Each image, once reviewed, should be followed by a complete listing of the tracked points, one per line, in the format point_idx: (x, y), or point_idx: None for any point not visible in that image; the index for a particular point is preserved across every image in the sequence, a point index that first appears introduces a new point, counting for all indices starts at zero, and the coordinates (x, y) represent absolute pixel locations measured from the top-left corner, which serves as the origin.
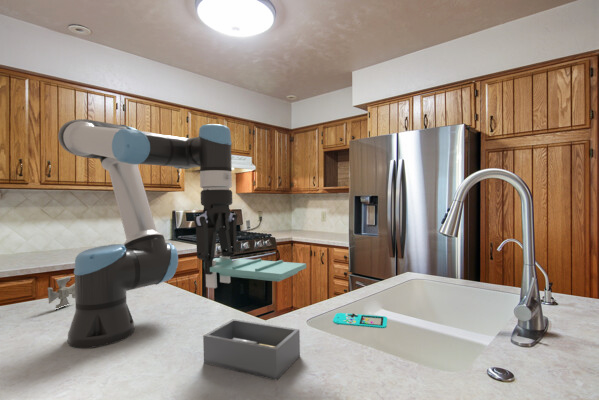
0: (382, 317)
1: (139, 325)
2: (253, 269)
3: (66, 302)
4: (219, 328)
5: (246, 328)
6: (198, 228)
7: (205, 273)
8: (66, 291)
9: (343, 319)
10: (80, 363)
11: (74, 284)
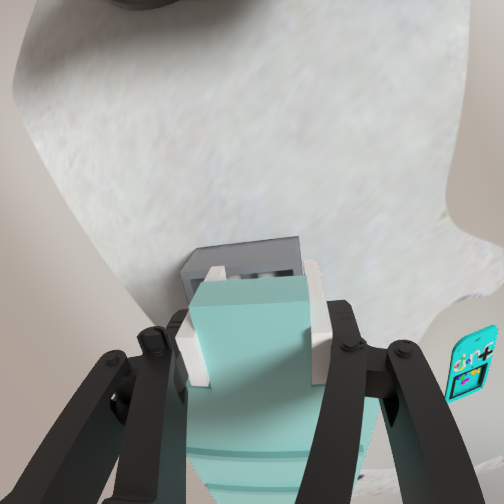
0: (479, 386)
1: None
2: (220, 478)
3: None
4: (230, 274)
5: None
6: (31, 494)
7: (179, 314)
8: None
9: (469, 350)
10: (77, 58)
11: None
